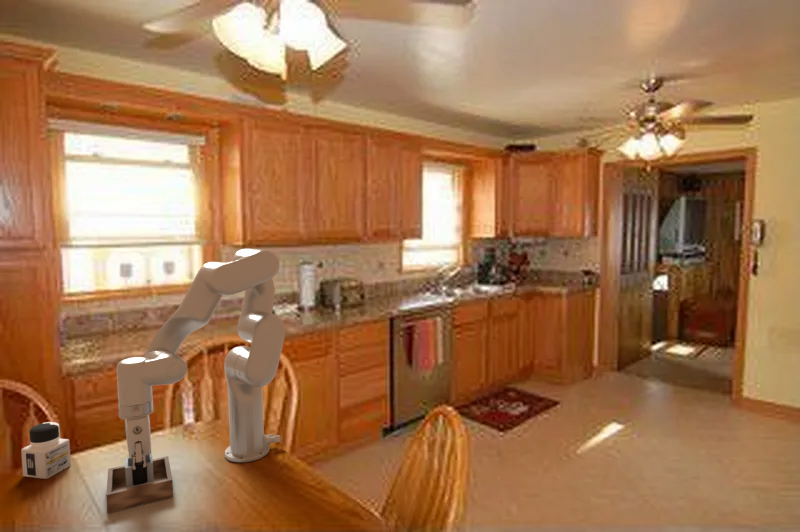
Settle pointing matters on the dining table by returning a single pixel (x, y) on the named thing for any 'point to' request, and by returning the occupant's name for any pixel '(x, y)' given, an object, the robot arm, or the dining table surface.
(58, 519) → the dining table surface
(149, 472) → the small crate
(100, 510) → the dining table surface
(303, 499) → the dining table surface
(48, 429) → the container
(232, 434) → the robot arm
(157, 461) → the box
